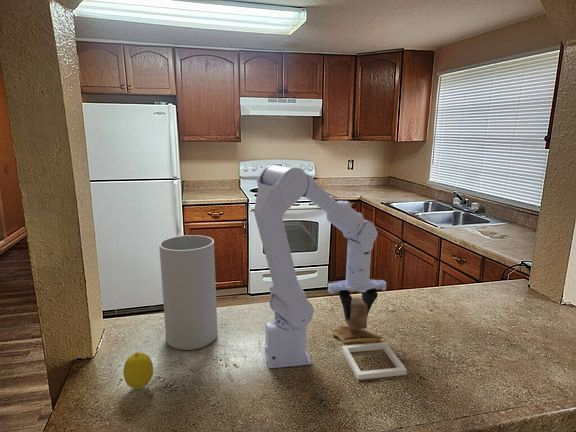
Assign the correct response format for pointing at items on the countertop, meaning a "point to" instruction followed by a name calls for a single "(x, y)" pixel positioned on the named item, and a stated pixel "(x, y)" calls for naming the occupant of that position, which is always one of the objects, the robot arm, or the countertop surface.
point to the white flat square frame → (373, 373)
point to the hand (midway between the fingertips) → (355, 317)
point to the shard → (354, 335)
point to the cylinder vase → (189, 291)
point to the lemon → (138, 370)
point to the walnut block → (357, 314)
